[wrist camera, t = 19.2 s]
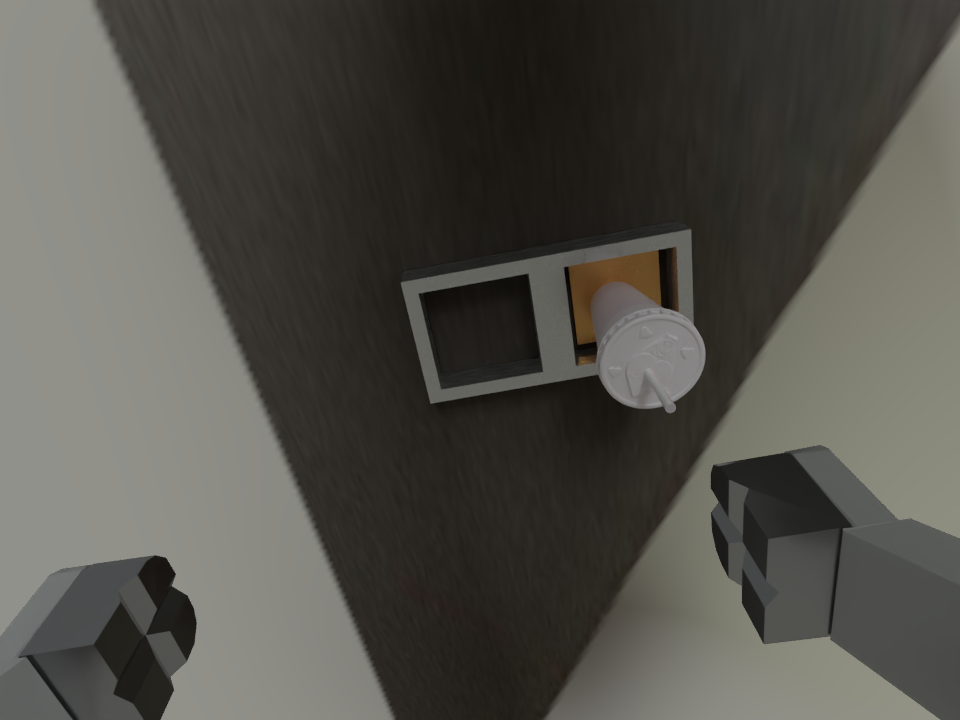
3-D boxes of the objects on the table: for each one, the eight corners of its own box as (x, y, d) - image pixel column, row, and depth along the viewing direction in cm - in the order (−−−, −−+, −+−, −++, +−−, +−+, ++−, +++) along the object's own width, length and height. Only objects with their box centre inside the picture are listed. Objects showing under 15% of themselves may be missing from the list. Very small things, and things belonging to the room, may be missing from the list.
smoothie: (555, 325, 45) (593, 425, 33) (599, 248, 43) (658, 325, 30) (629, 357, 47) (692, 466, 34) (675, 285, 44) (762, 373, 32)
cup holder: (403, 270, 44) (400, 282, 41) (678, 220, 43) (691, 229, 40) (431, 387, 48) (430, 403, 46) (683, 343, 47) (694, 357, 45)
